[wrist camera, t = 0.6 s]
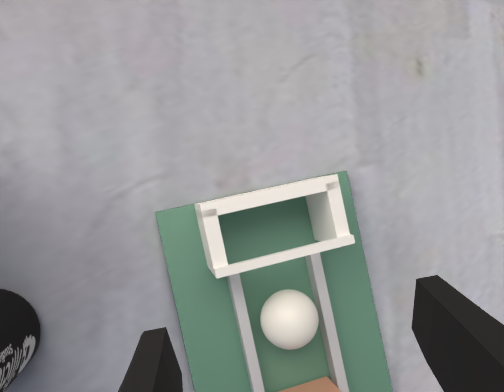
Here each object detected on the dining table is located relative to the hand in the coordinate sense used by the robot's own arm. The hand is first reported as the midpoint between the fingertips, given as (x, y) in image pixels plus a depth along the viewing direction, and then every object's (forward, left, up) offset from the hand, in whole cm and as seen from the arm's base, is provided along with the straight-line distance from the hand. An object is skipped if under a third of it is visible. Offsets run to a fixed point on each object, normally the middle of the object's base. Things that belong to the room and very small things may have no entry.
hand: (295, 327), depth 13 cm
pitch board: (-7, -5, -23) cm, 25 cm away
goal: (+1, -5, -23) cm, 24 cm away
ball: (-6, -5, -20) cm, 21 cm away
